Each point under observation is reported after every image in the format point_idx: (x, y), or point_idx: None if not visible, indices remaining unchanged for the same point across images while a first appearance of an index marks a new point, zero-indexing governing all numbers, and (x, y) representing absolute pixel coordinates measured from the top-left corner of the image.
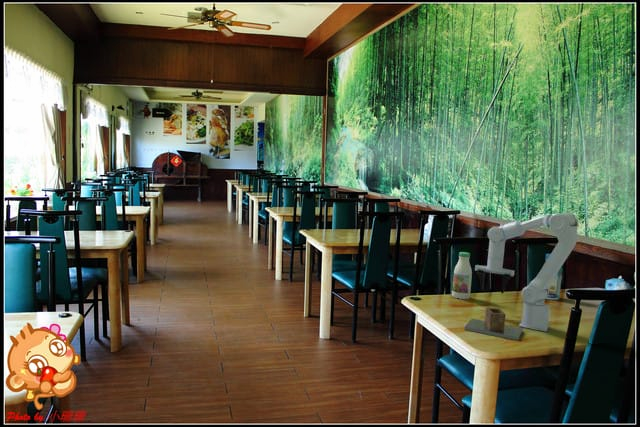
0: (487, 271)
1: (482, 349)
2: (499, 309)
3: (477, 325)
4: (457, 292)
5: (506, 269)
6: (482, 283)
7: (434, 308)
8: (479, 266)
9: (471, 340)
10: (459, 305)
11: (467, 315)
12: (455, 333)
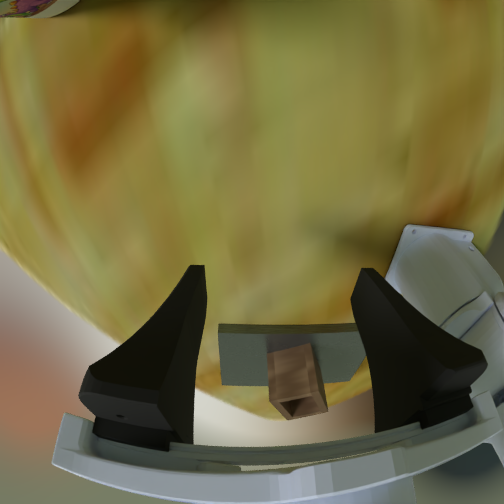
0: (219, 456)
1: (276, 417)
2: (314, 396)
3: (249, 370)
4: (32, 15)
5: (458, 452)
6: (196, 352)
7: (57, 254)
8: (124, 490)
9: (252, 404)
10: (91, 128)
11: (180, 268)
12: (212, 394)
